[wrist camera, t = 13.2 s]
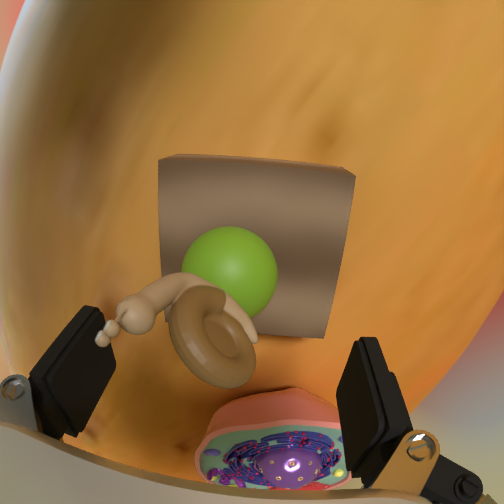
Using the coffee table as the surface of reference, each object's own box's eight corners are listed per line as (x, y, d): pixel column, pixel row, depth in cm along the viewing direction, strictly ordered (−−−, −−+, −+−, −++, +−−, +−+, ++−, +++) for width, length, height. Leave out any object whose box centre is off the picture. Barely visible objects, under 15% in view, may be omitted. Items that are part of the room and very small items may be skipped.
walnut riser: (177, 153, 21) (158, 159, 18) (342, 167, 21) (355, 175, 17) (179, 295, 26) (165, 322, 22) (318, 309, 26) (323, 338, 22)
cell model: (189, 433, 35) (171, 503, 25) (238, 329, 27) (218, 433, 17) (304, 460, 36) (305, 526, 26) (388, 373, 28) (416, 460, 18)
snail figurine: (222, 185, 18) (141, 279, 7) (295, 257, 20) (311, 410, 9) (167, 243, 20) (68, 367, 9) (237, 306, 21) (203, 457, 10)
